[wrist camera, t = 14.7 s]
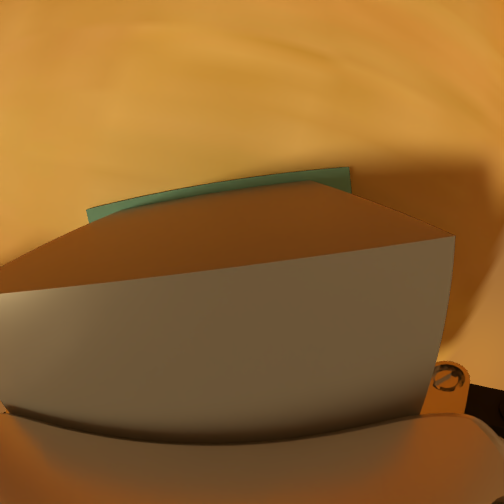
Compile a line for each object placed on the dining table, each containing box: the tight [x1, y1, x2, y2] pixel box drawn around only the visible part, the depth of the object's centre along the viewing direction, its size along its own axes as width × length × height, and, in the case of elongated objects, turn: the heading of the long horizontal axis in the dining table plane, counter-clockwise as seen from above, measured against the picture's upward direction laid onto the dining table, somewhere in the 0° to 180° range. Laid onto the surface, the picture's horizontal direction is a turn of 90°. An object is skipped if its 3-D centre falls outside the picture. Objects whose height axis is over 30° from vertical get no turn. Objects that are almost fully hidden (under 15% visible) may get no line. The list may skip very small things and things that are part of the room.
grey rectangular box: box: [0, 180, 455, 444], centre depth 8 cm, size 10×8×9 cm
